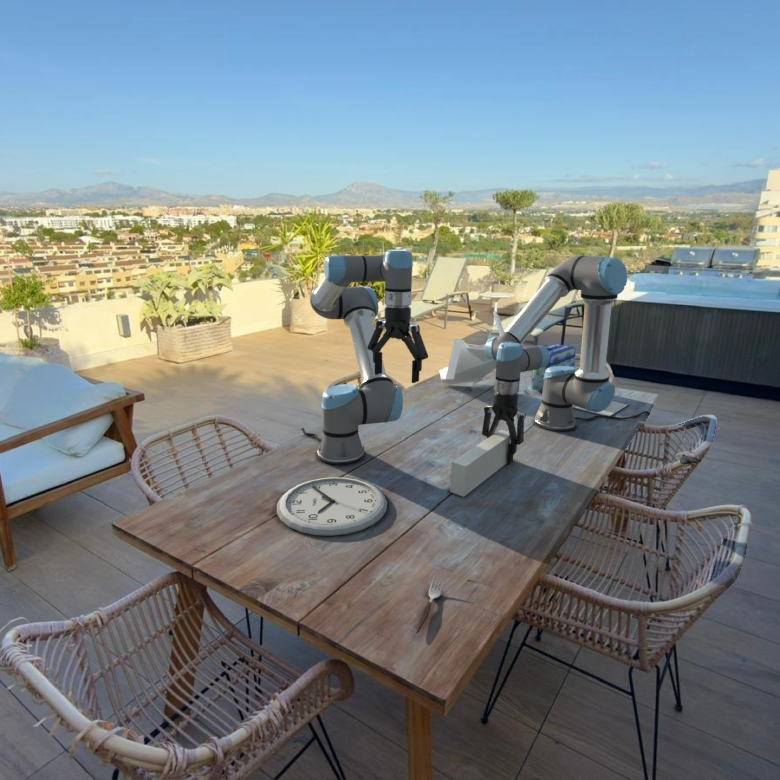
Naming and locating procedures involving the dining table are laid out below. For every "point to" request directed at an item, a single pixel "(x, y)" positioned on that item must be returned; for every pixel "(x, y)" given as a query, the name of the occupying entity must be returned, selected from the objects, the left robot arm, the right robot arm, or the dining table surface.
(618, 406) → the invitation card
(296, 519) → the wall clock
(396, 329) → the left robot arm
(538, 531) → the dining table surface
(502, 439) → the bar
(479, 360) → the white plastic object
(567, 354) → the lunch box
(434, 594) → the fork
